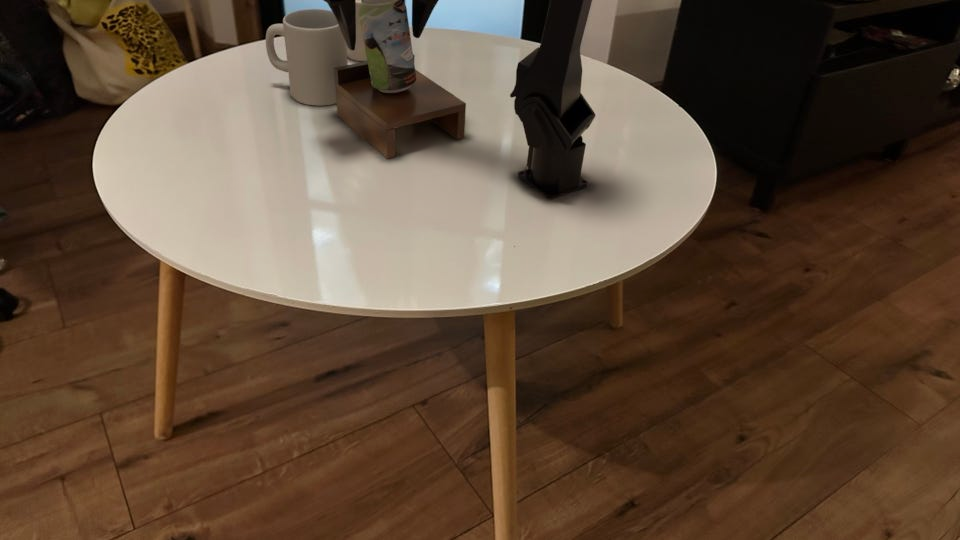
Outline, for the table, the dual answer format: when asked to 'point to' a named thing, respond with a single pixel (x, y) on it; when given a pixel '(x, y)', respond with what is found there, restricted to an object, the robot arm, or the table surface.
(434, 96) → the wooden riser stand
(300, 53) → the mug
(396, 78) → the beverage can
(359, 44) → the dixie cup
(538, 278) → the table surface
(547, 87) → the robot arm
